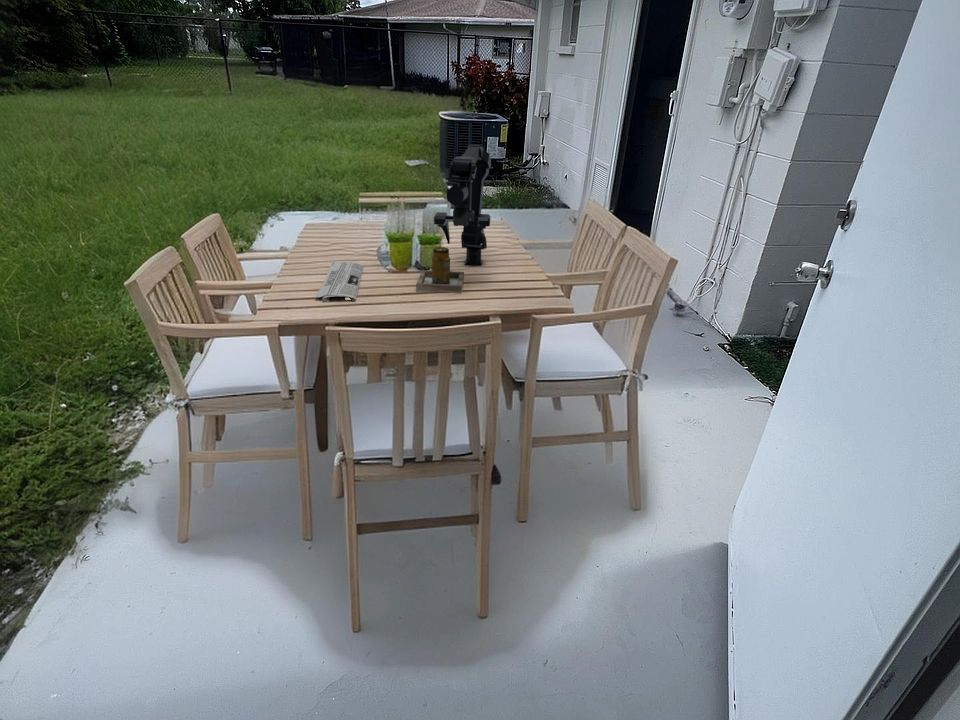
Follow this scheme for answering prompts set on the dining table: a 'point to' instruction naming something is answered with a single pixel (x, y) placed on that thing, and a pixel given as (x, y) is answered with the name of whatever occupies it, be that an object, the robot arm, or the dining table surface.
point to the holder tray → (427, 287)
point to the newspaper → (341, 280)
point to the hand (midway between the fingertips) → (462, 244)
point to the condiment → (440, 266)
